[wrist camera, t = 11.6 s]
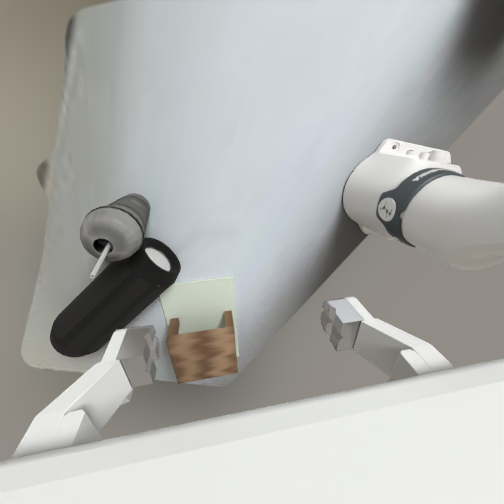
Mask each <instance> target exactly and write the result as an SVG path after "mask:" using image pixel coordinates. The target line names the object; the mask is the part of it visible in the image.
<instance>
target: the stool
mask: <svg viewBox="0 0 504 504" xmlns="http://www.w3.org/2000/svg"><path fill="white" fill-rule="evenodd" d="M224 317H225V326H226V327H224V328H218V329H211V330H204V331H197V332H191V333H184V334H179V326H180V322H179V318H172V319H170V323H169V329H168V335H167V341H166V343H167V347H168V350H169V354H170V357H171V361H172V364H173V368H174V371H175V375H176V378H177V381H178V383H184V382H189V381H195V380H200V379H206V378H212V377H217V376H223V375H228V374H234V373H238V368H237V355H236V342H235V330H234V323H233V317H232V310H230V311H224Z"/></svg>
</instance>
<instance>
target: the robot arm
mask: <svg viewBox="0 0 504 504" xmlns="http://www.w3.org/2000/svg"><path fill="white" fill-rule="evenodd" d="M393 146H394V148H393V149H392V147H393ZM343 204H344V208H345V211H346V213H347V215H348V216H349V217H350V218H351V219H352V220H354V221H355V222H356V223H358V225H359V227H360V229H361V231H362V232H363V233H365V234H371V233H375V234H377V235H379V236H381V237H383V238H385V239H387V240H394V239H397V240H398V241H400V242H402V243H404V244H407V245H409V246H412V247H418V248H419V249H421V250H422V251H424V252H426V253H428V254H429V255H431V256H433V257H435V258H436V259H438V260H440V261H442V262H444V263H445V264H447V265H449V266H451V267H454V268H457V269H482V268H488V267H491V266H494V265H497V264H499V263H501V262H503V261H504V183H497V182H489V181H482V180H476V179H470V178H466V177H465V176H463V175H462V172H461V168H460V167H459V166H458V165H452V164H451V158H450V153H449V152H447V151H443V150H439V149H435V148H430V147H426V146H421V145H417V144H412V143H408V142H403V141H399V140H394V139H390V138H388V139H385V140H384V141H383V142H382V143H381V144H380V145H379V147H378V148H377V149H376V151H375V152H374V153H373V154H372V155H371V156H369V157H368V158H366V159H365V160H364V161H362V162H361V163H360V164H359V165H358V166H357V167H356V168H355V170H354V171H353V172H352V174H351V175H350V177H349V179H348V181H347V183H346V186H345V189H344V194H343ZM323 308H324V312H323V313H322V315H321V324H322V327H323V329H324V331H325V333H327V334H329V335H330V341H331V343H332V345H333V346H334V348H335V350H336V351H341V350H348V349H353V350H354V351H356V352H357V353H358V354H360V355H361V356H362V357H364V358H365V359H366V360H368V361H369V362H370V363H372V364H373V365H375V366H376V367H377V368H378V369H380V370H381V371H383V372H384V373H385V374H387V375H388V376H389V377H390V378H389V380H388V382H385V383H380V384H376V385H371V386H366V387H361V388H356V389H351V390H346V391H341V392H337V393H332V394H327V395H322V396H317V397H313V398H308V399H302V400H298V401H293V402H288V403H283V404H278V405H274V406H268V407H264V408H259V409H254V410H249V411H244V412H240V413H234V414H229V415H225V416H220V417H215V418H210V419H206V420H200V421H195V422H191V423H186V424H181V425H176V426H171V427H166V428H162V429H156V430H151V431H147V432H142V433H137V434H132V435H127V436H122V437H117V438H112V439H107V440H103V439H102V437H101V436H100V434H99V432H100V431H101V430H102V428H103V427H104V426H105V424H106V423H107V422H108V420H109V419H110V418H111V416H112V415H113V414H114V413H115V411H116V410H117V409H118V407H119V406H120V405H121V403H122V402H123V401H124V399H125V398H126V397H127V395H128V394H129V393H130V391H131V390H132V388H134V387H139V386H143V385H148V384H153V383H154V378H155V373H156V367H155V363H156V362H157V360H158V357H159V342H158V338H156V337H155V336H154V335H155V329H154V326H152V325H150V326H141V327H133V328H127V329H118V330H116V331H115V332H114V333H113V335H112V337H111V340H110V342H109V344H108V346H107V349H106V351H105V353H104V356H103V358H102V360H101V362H99V363H96V364H95V365H94V366H93V367H92V368H90V369H89V370H88V371H87V372H86V373H85V374H84V375H83V376H81V377H80V378H79V379H78V380H77V381H76V382H74V383H73V384H72V385H71V386H70V387H69V388H68V389H67V390H65V391H64V392H63V393H62V394H61V395H60V396H58V397H57V398H56V399H55V400H54V401H53V402H52V403H51V404H49V405H48V406H47V407H46V408H45V409H44V410H43V411H41V412H40V413H39V414H38V415H37V416H36V417H35V418H34V420H33V422H32V424H31V426H30V427H29V429H28V431H27V432H26V434H25V435H24V437H23V439H22V441H21V442H20V444H19V446H18V448H17V449H16V451H15V453H14V454H13V456H12V458H11V459H10V460H5V461H0V504H504V358H502V359H497V360H492V361H487V362H483V363H478V364H473V365H468V366H463V367H458V368H455V367H454V366H453V365H452V364H451V363H450V362H448V361H447V360H446V359H445V358H444V357H443V356H442V355H441V354H440V353H439V352H438V351H437V350H436V349H435V348H434V347H433V346H432V345H431V344H429V343H427V342H425V341H422V340H421V339H419V338H416V337H414V336H412V335H410V334H408V333H406V332H404V331H402V330H400V329H398V328H396V327H394V326H392V325H390V324H388V323H385V322H383V321H381V320H379V319H374V318H373V317H372V316H371V315H370V313H369V312H368V311H367V310H366V309H365V308H364V307H363V306H362V304H361V303H360V302H359V301H358V300H357V299H356V298H355V297H346V298H340V299H333V300H327V301H325V302H324V303H323Z"/></svg>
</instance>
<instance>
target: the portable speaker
mask: <svg viewBox="0 0 504 504" xmlns="http://www.w3.org/2000/svg"><path fill="white" fill-rule="evenodd" d="M180 269H181V266H180V262H179V260H178V258H177V256H176V255H175V254H174V252H173V251H172V250H171V249H170V248H169V247H167V246H166V245H165V244H164V243H162V242H160V241H159V240H156V239H153V238H144V241H143V243H142V245H141V247H140V249H138V250H137V251H136V252H135V253H134V254H132V255H131V256H130V257H128V258H125V259H123V260H120V261H113V262H112V263H111V264H110V265H109V266H108V267H107V268H106V269H105V270H104V271H103V272H102V273H101V274H100V275H99V276H98V277H97V278H95V279H94V280H93V281H92V282H91V283H90V284H89V285H88V286H87V287H86V288H85V289H84V290H83V291H82V292H81V293H80V294H79V295H78V296H77V297H76V298H75V299H74V300H73V301H72V302H71V303H70V304H69V305H68V306H67V307H66V308H65V309H64V310H63V311H62V312H61V313H60V314H59V315H58V316H57V318H56V319H55V321H54V323H53V326H52V330H51V334H50V341H51V344H52V346H53V347H54V349H55V350H56V351H57V352H59V353H61V354H62V355H65V356H68V357H81V356H84V355H88V354H91V353H94V352H96V351H98V350H99V349H100V348H102V347H103V345H105V344H106V343H107V342H108V341H109V340H110V339H111V337H112V335H113V333H114V332H115V331H116V330H118V329H123V328H124V327H125V326H126V325H127V324H128V323H129V322H130V321H132V320H133V319H134V318H135V317H136V316H137V315H138V314H139V313H140V312H142V311H143V310H144V309H145V308H146V307H147V306H148V305H149V304H151V303H152V302H153V301H154V300H155V299H156V298H157V297H158V296H160V295H161V294H162V293H163V292H164V291H165V290H166V289H167V288H169V287H170V286H171V285H172V284H173V283H174V282H175V280H176V278H177V276H178V274H179V272H180Z"/></svg>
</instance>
